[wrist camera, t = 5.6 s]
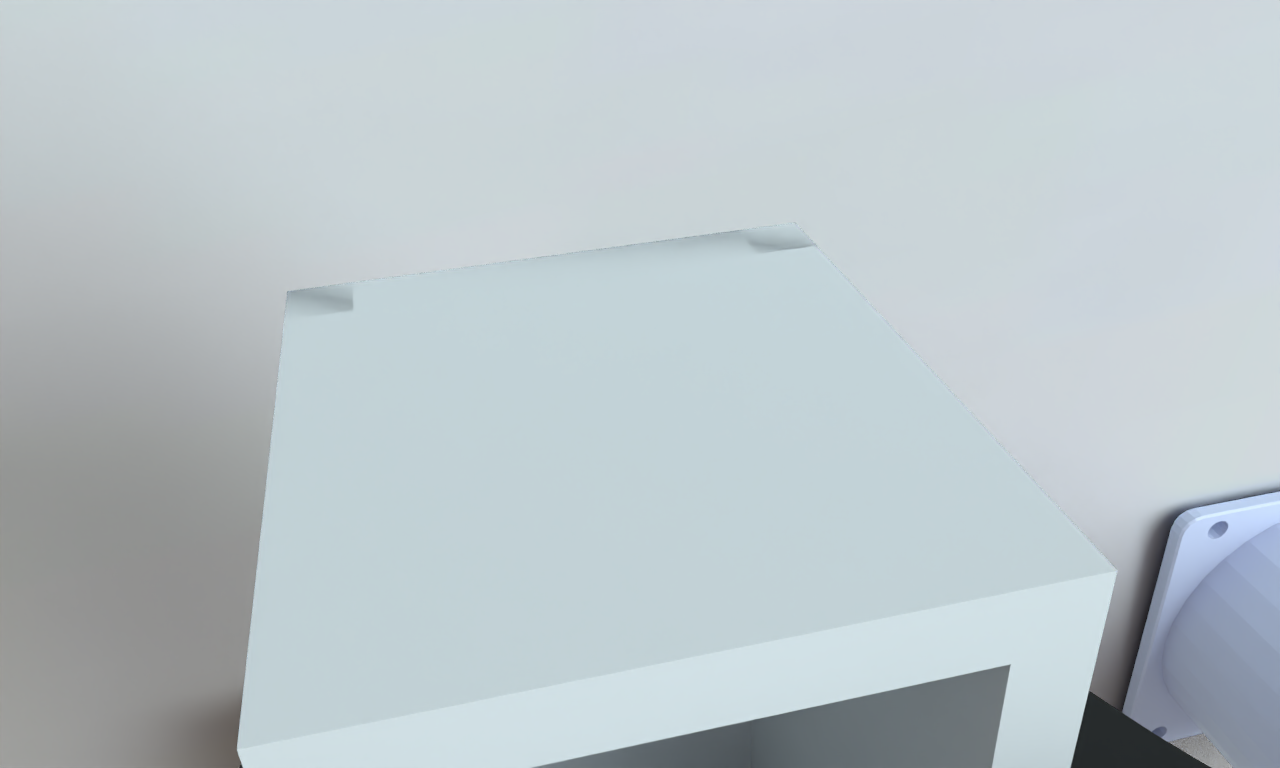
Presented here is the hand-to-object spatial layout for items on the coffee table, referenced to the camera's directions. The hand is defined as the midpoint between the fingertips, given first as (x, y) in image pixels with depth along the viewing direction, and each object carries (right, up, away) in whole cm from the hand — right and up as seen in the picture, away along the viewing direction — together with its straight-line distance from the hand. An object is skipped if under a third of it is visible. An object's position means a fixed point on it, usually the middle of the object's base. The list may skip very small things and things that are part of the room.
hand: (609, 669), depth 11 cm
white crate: (0, +1, +1) cm, 2 cm away
